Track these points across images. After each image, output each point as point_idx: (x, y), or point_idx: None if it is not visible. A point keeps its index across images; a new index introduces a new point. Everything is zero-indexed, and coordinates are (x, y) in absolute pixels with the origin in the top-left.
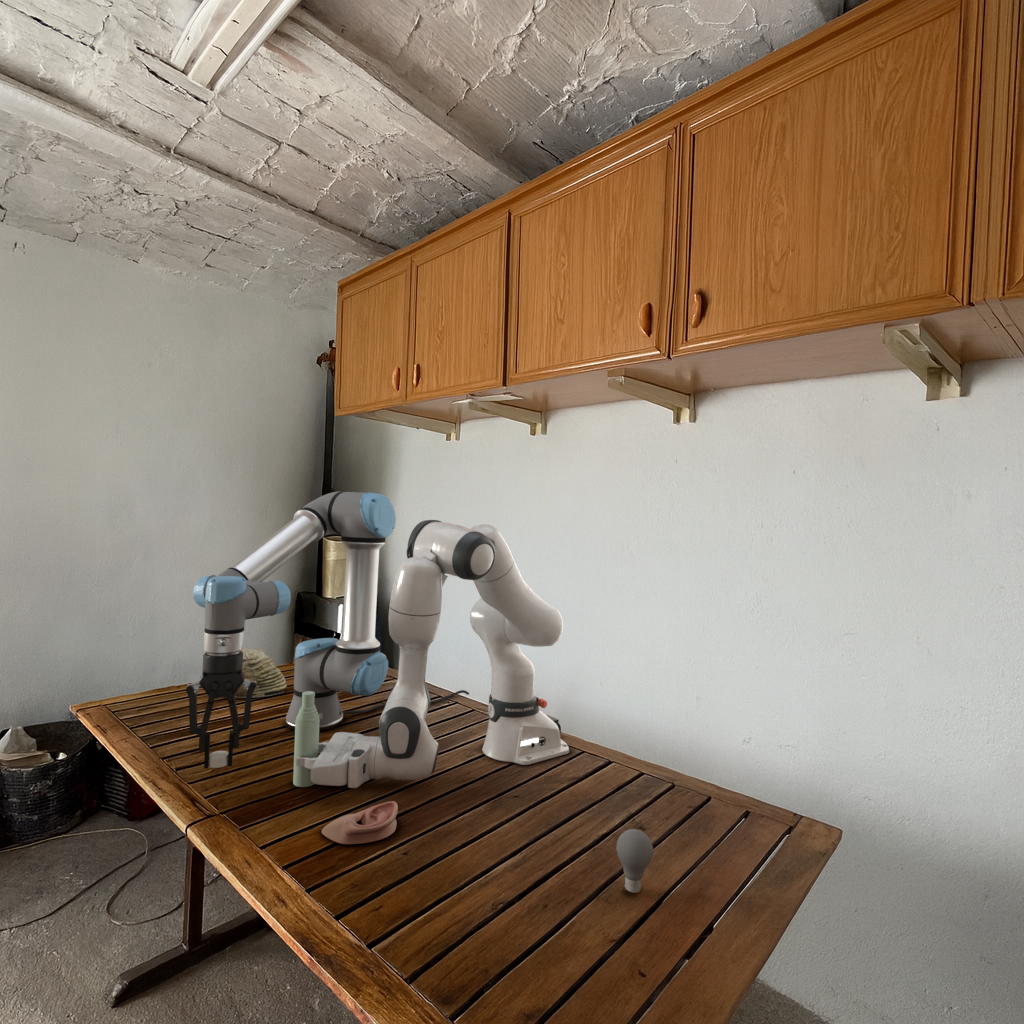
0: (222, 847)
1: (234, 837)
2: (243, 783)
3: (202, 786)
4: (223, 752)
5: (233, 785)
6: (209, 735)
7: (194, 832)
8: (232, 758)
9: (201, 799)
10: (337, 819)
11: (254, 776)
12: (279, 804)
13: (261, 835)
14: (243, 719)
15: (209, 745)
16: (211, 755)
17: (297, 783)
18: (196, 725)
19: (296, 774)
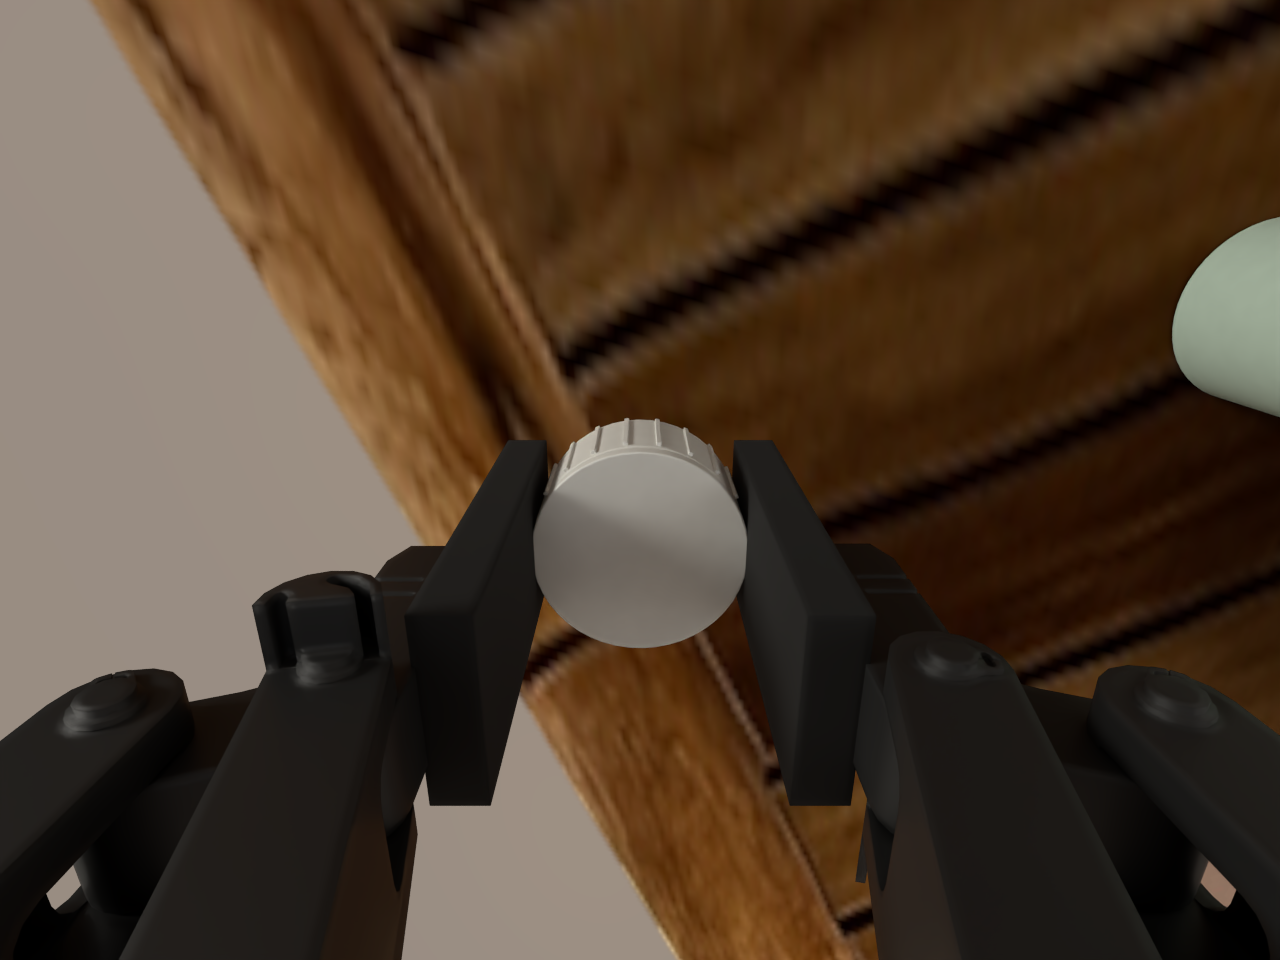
0: (688, 887)
1: (739, 832)
2: (825, 192)
3: (520, 155)
4: (689, 518)
5: (750, 209)
6: (483, 763)
7: (554, 748)
8: (776, 450)
9: (541, 386)
10: (1231, 899)
11: (924, 65)
12: (1003, 588)
13: (857, 847)
14: (1175, 824)
15: (515, 594)
16: (562, 573)
17: (1201, 380)
18: (140, 787)
19: (1249, 387)
